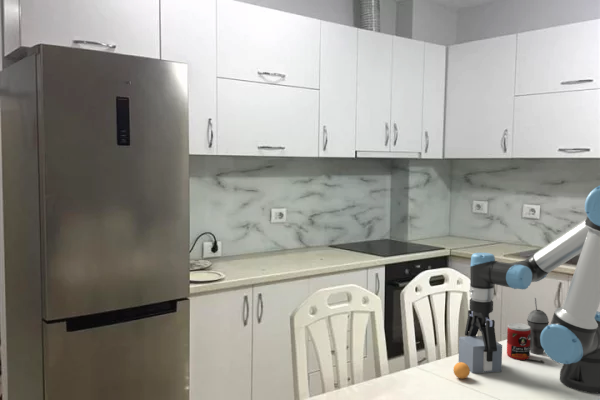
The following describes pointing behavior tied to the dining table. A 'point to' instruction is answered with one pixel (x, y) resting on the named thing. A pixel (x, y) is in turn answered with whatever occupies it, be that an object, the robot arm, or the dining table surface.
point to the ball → (461, 370)
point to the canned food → (518, 341)
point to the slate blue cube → (478, 354)
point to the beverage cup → (537, 329)
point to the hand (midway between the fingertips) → (479, 364)
